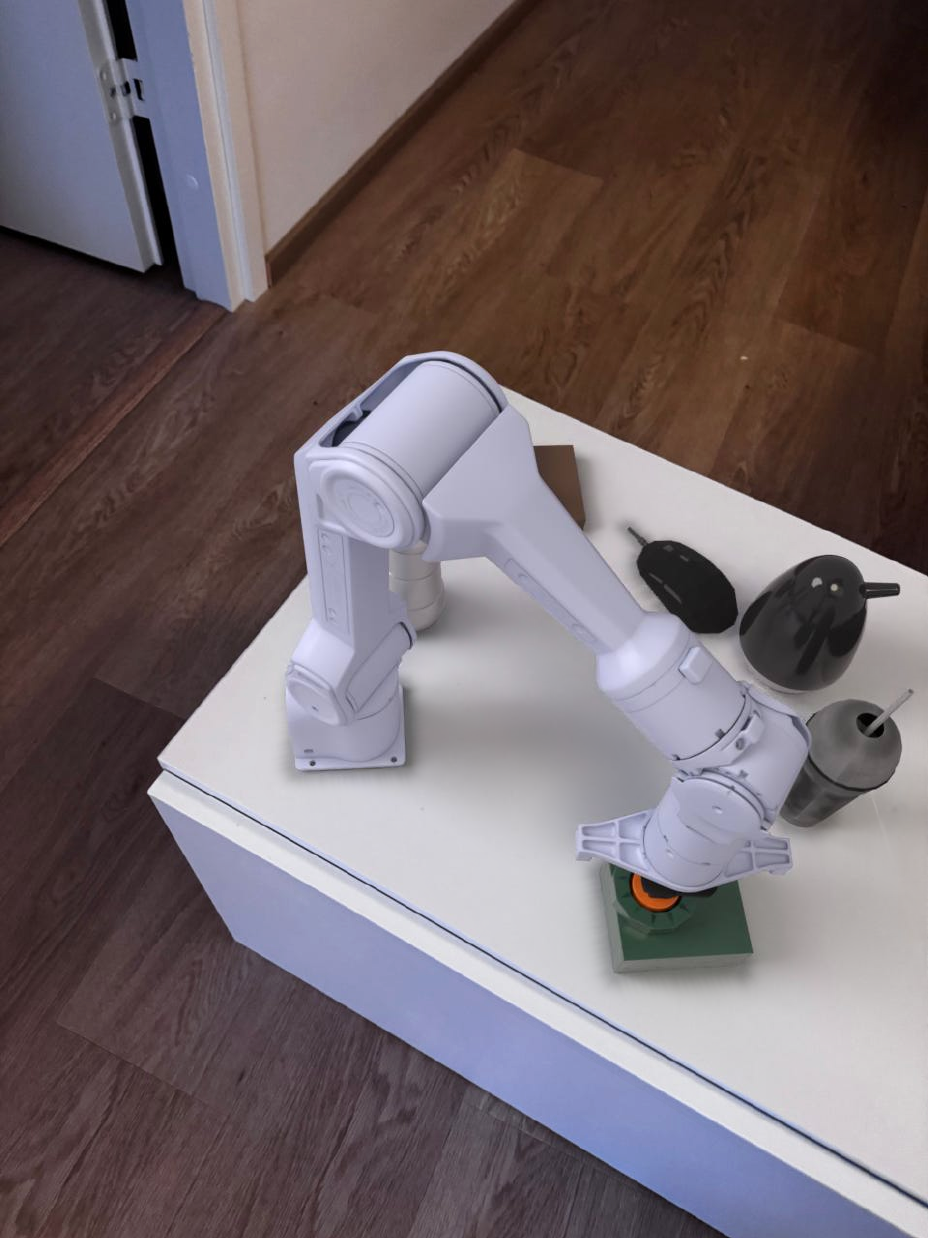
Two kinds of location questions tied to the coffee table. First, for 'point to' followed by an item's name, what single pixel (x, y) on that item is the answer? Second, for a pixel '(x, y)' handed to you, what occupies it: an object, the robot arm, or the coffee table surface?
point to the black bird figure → (808, 624)
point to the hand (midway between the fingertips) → (656, 885)
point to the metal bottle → (417, 584)
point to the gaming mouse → (688, 585)
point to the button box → (673, 928)
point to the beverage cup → (844, 758)
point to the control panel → (562, 477)
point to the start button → (645, 901)
